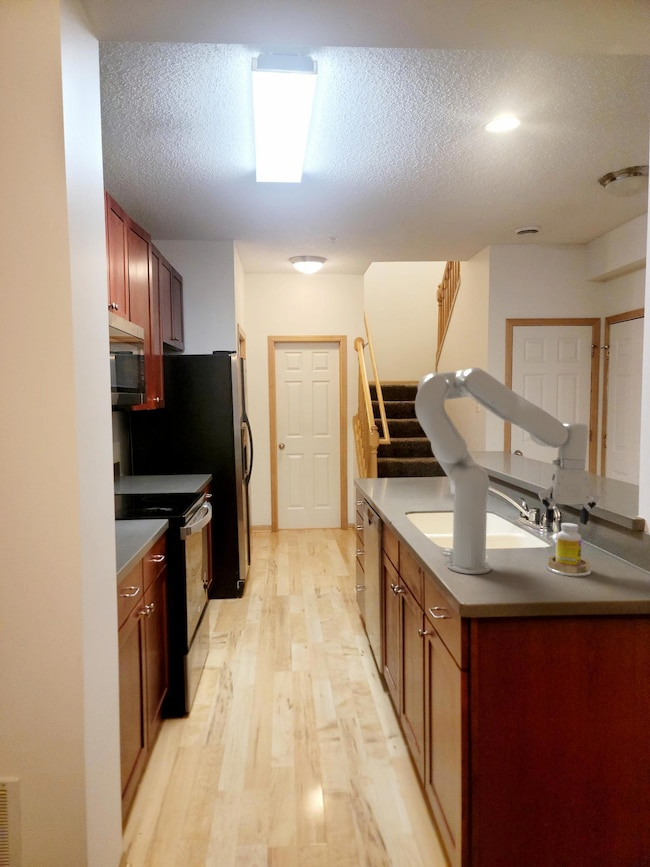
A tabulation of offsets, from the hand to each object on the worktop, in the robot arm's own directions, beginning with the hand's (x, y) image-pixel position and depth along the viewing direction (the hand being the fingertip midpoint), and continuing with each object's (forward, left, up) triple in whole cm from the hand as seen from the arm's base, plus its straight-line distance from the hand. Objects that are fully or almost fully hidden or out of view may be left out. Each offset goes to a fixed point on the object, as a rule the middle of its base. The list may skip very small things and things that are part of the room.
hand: (566, 522), depth 161 cm
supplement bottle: (+1, 0, -14) cm, 14 cm away
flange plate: (+1, +1, -14) cm, 14 cm away
